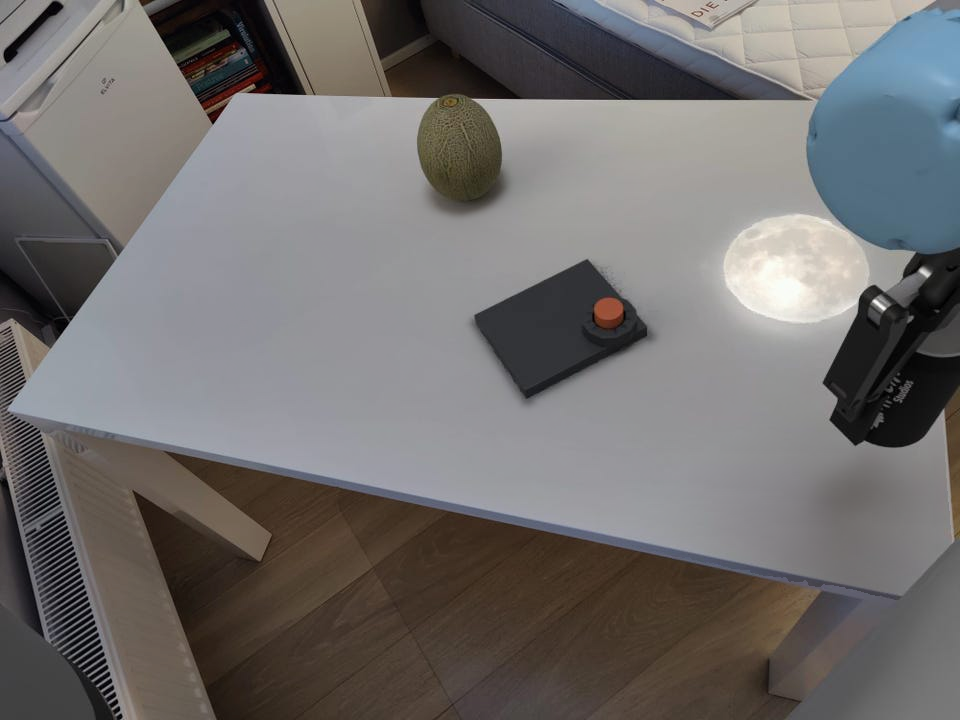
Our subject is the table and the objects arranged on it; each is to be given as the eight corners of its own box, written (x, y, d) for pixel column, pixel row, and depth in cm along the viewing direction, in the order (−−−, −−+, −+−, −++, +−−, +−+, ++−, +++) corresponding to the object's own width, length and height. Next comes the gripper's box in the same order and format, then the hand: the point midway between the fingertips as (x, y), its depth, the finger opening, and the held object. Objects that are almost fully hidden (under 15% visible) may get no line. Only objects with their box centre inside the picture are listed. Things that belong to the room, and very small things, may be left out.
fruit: (489, 225, 97) (469, 134, 85) (418, 212, 101) (389, 123, 89) (520, 170, 102) (505, 78, 90) (451, 160, 106) (428, 70, 94)
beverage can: (928, 460, 53) (997, 368, 43) (832, 443, 55) (877, 351, 45) (926, 388, 56) (989, 288, 46) (836, 375, 58) (878, 275, 48)
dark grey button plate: (528, 402, 79) (525, 385, 76) (476, 323, 87) (471, 305, 84) (650, 338, 81) (650, 319, 78) (587, 267, 89) (586, 248, 86)
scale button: (604, 333, 79) (604, 324, 77) (589, 315, 81) (588, 305, 79) (628, 321, 79) (628, 311, 78) (613, 303, 81) (613, 293, 80)
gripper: (925, 299, 33) (815, 508, 51) (1232, 132, 35) (1024, 386, 54) (809, 208, 37) (747, 431, 55) (1091, 67, 40) (943, 323, 58)
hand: (884, 409), depth 54 cm, fingers closed on beverage can, 7 cm apart
